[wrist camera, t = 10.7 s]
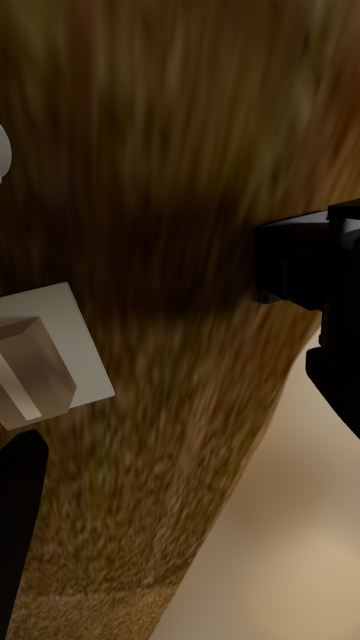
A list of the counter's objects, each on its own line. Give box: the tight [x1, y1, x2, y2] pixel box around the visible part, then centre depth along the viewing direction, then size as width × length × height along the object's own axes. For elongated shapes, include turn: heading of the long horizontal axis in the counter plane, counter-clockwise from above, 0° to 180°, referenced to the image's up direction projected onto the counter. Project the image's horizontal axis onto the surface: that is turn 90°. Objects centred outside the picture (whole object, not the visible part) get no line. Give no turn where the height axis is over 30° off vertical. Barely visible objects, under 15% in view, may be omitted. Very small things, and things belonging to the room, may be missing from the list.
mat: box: [0, 282, 115, 426], centre depth 18 cm, size 10×11×1 cm
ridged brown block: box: [0, 316, 77, 431], centre depth 17 cm, size 7×4×3 cm, turn 13°
